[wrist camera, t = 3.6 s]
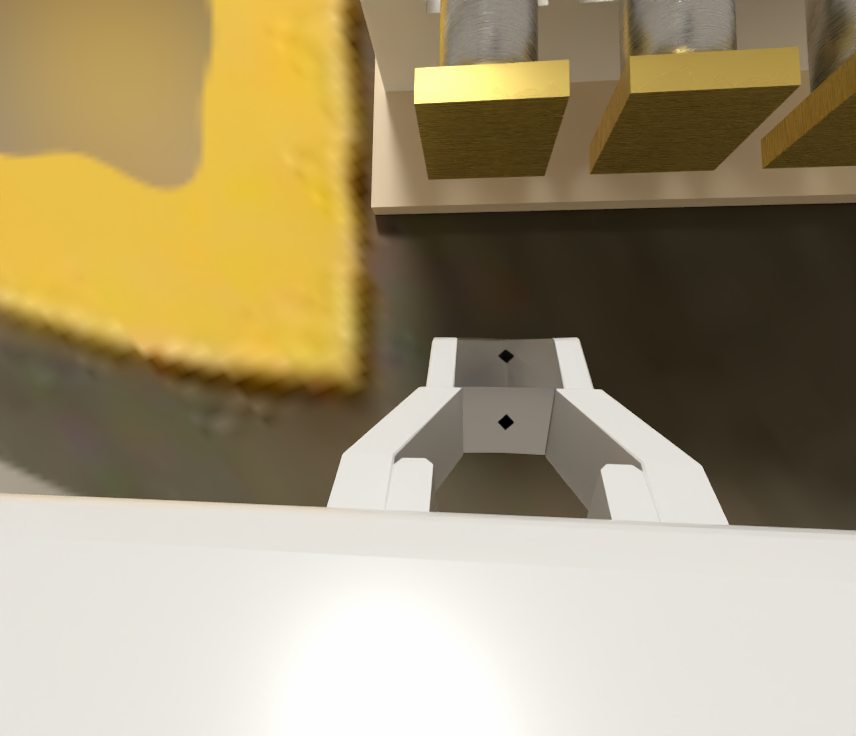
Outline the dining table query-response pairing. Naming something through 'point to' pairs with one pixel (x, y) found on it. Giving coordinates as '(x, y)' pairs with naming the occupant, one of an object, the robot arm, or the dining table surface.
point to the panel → (578, 121)
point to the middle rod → (686, 88)
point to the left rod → (489, 93)
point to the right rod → (821, 95)
